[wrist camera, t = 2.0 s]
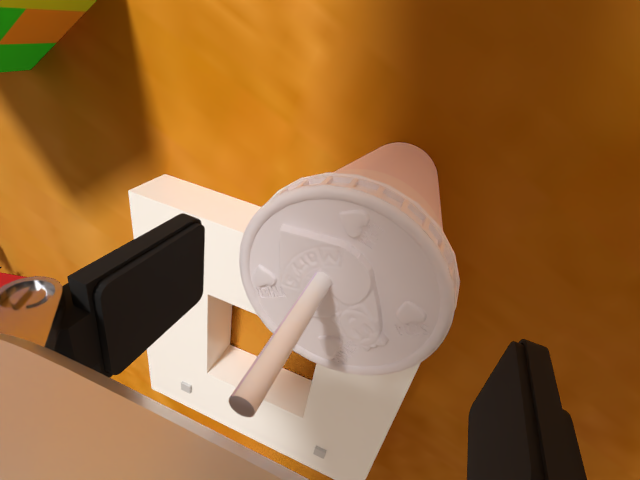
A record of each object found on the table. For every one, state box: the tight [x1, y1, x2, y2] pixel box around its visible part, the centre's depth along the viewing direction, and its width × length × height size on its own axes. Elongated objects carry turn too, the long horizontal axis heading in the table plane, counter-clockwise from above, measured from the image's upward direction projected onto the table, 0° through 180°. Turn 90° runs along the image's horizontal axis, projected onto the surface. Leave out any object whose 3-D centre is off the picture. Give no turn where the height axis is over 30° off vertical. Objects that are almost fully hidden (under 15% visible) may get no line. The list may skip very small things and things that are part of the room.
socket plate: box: [128, 174, 421, 480], centre depth 25 cm, size 18×18×4 cm
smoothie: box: [229, 142, 460, 417], centre depth 13 cm, size 6×6×14 cm
